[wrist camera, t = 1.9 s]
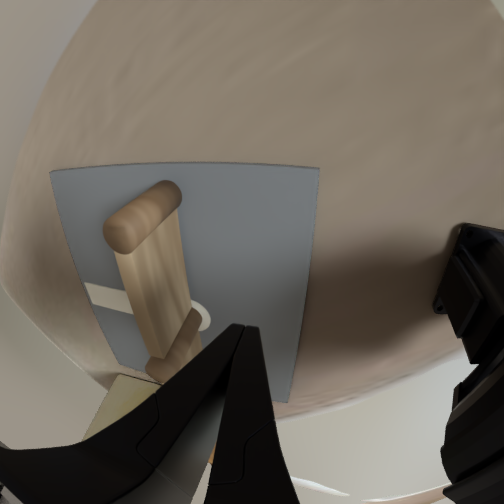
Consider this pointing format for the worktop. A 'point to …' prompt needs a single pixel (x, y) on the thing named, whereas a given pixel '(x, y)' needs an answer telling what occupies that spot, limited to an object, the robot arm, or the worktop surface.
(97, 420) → the toy refrigerator
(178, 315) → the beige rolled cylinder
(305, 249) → the board
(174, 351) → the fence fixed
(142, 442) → the robot arm
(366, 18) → the worktop surface
